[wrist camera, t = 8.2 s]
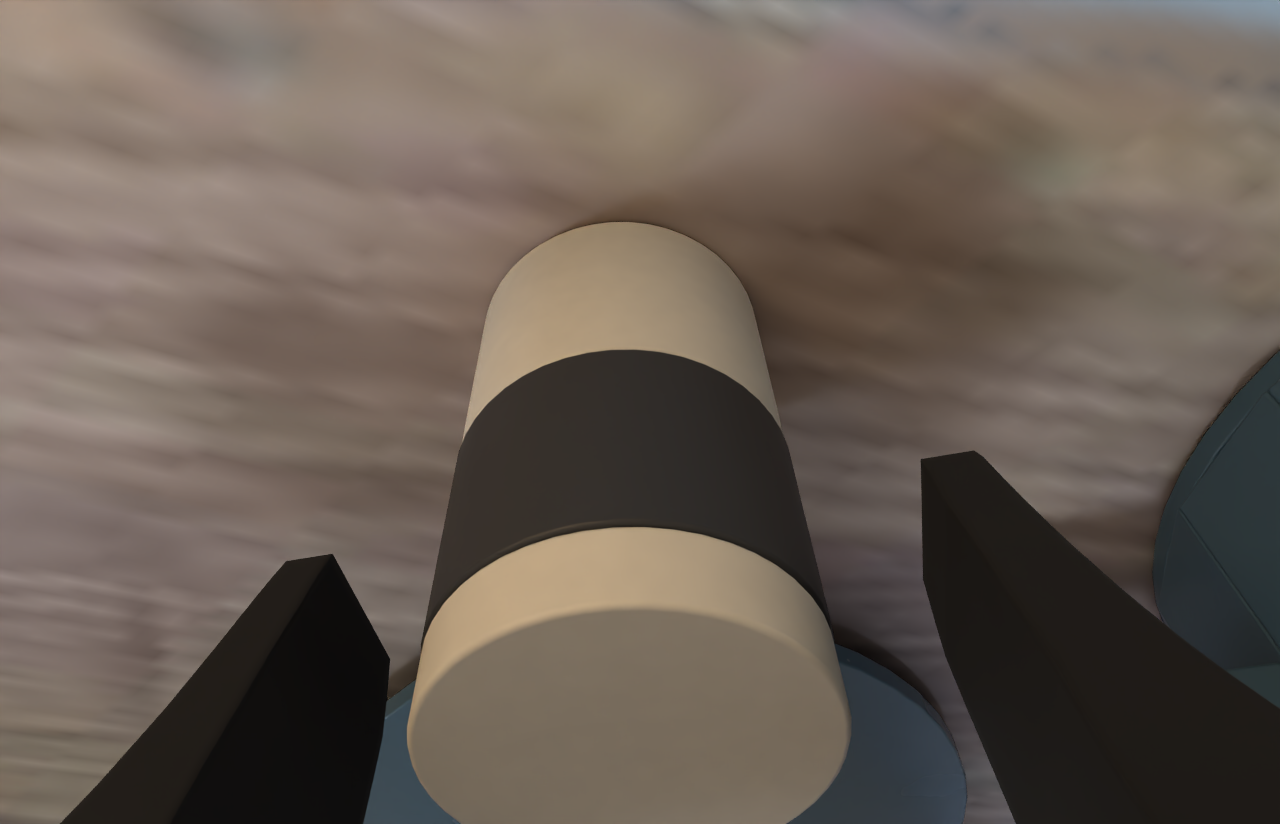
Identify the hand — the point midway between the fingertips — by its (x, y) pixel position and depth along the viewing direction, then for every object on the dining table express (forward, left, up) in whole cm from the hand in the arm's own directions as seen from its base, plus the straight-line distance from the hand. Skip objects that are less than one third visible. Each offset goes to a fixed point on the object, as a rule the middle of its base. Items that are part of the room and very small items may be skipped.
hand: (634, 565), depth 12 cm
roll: (0, 0, -5) cm, 5 cm away
